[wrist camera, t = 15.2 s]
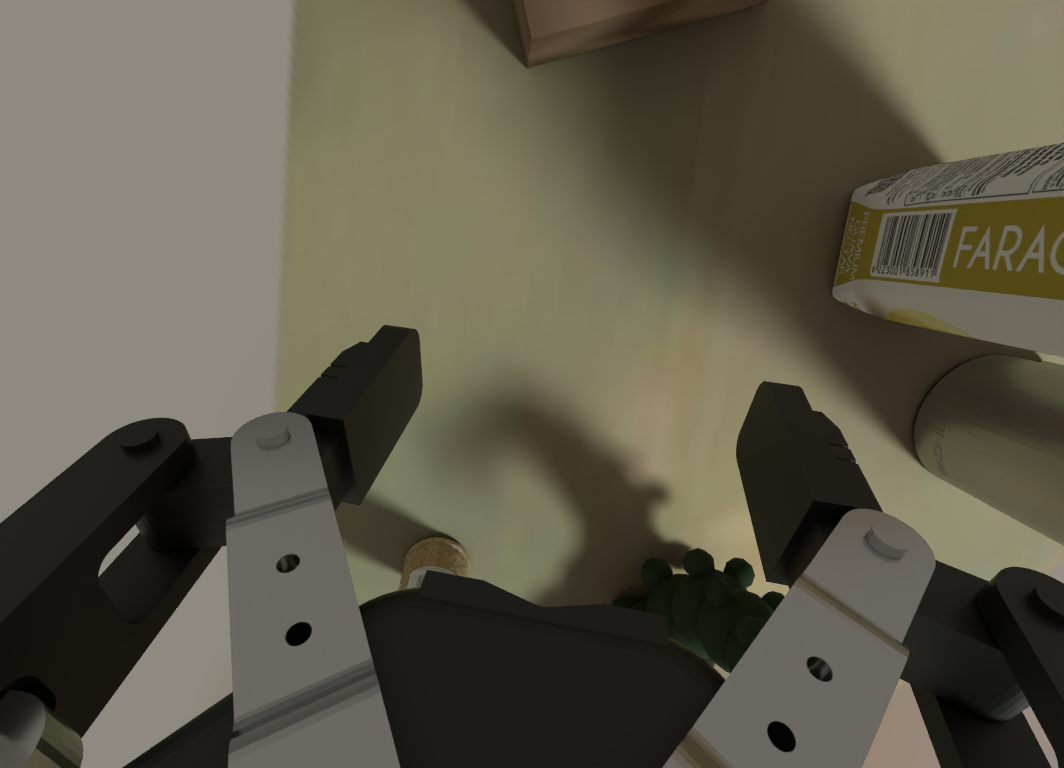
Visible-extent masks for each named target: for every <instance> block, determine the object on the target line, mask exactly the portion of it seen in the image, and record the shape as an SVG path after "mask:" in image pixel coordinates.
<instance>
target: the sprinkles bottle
mask: <svg viewBox="0 0 1064 768" xmlns="http://www.w3.org/2000/svg"><path fill="white" fill-rule="evenodd" d="M470 567H471V563H470V560H469V556H468V554H467V552H466V551H465V550H464V549H463V547H462V546H461V545H460V544H458V543H457V542H455V541H453V540H451V539H447V538H442V537H432V538H427V539H424V540H422V541H420V542H418V543H417V544H415V545H414V546H412V547H411V549H410V550H409V552H408V553H407V555H406V557H405V561H404V565H403V569H404V570H403V574H402V578H401V582H400V585H399V587H398V589H397V591H399V590H405V589H411V588H420V587H421V584H422V582H423V579H424V576H425V574H426V571H427V570H432V571H437V572H442V573H447V574H452V575H458V576H463V577H468V576H469V573H470Z"/></svg>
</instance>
